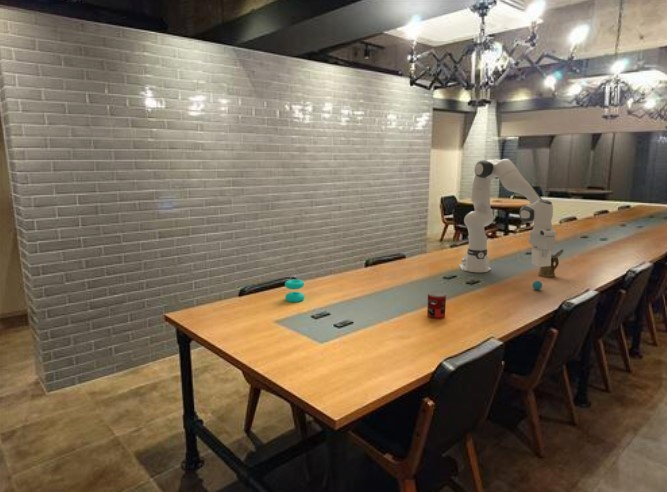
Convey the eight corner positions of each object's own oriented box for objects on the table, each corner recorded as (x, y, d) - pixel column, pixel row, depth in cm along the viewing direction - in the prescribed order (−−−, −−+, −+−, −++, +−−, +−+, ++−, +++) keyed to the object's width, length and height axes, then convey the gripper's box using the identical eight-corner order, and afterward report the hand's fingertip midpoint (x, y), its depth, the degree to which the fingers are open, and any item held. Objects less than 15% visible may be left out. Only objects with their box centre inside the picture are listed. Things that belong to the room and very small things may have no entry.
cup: (531, 264, 243) (531, 248, 241) (543, 262, 243) (544, 247, 241) (538, 267, 236) (538, 251, 234) (550, 265, 236) (551, 249, 235)
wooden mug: (556, 279, 261) (559, 250, 258) (535, 275, 272) (537, 246, 269) (564, 277, 266) (567, 248, 263) (543, 273, 277) (545, 245, 274)
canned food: (425, 313, 205) (425, 291, 203) (441, 313, 206) (442, 290, 204) (430, 319, 198) (430, 296, 196) (447, 318, 199) (448, 295, 196)
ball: (538, 278, 243) (539, 287, 244) (529, 280, 243) (531, 289, 244) (543, 280, 239) (544, 289, 239) (534, 283, 238) (536, 291, 239)
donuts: (292, 277, 234) (307, 280, 228) (293, 295, 236) (308, 298, 230) (280, 282, 225) (296, 284, 220) (281, 300, 227) (296, 304, 222)
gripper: (526, 227, 246) (525, 251, 248) (546, 233, 226) (544, 259, 228) (537, 227, 246) (535, 251, 249) (558, 233, 226) (556, 259, 229)
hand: (540, 255), depth 238 cm, fingers closed on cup, 7 cm apart
